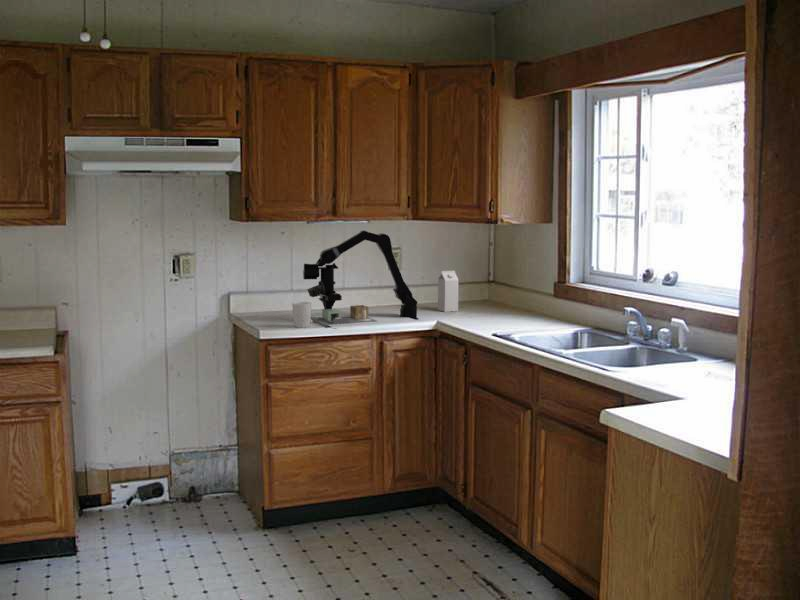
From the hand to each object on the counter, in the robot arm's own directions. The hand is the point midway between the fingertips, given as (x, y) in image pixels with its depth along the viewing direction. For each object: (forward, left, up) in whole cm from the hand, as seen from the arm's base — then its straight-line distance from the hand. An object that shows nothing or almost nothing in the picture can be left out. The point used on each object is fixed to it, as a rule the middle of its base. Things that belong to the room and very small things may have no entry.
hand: (327, 314), depth 387 cm
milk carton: (-63, -6, -3) cm, 63 cm away
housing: (0, +5, -1) cm, 5 cm away
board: (-5, +8, -3) cm, 10 cm away
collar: (-13, +4, -2) cm, 14 cm away
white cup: (+15, +9, -3) cm, 18 cm away
